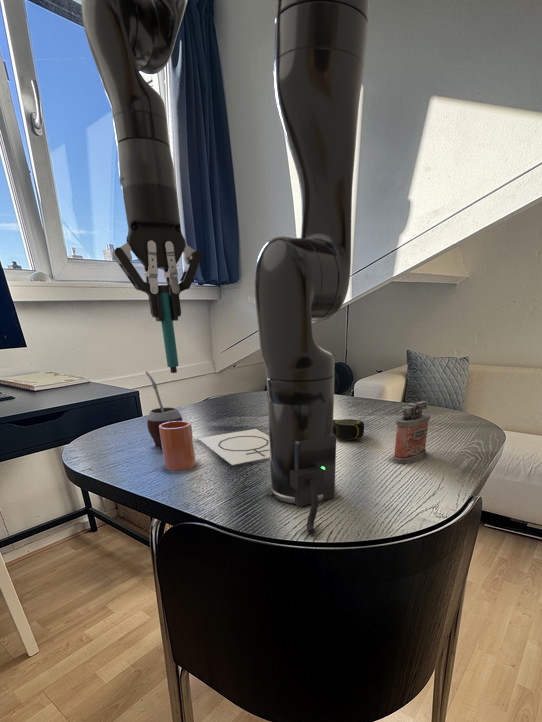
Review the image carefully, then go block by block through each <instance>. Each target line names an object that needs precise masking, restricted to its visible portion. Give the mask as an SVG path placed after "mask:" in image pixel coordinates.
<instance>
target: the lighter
mask: <svg viewBox="0 0 542 722" xmlns="http://www.w3.org/2000/svg"><path fill="white" fill-rule="evenodd" d="M427 409H428V402H427V401H425V400H421V401H418V402H415V403H414V402H408V403H407V405H406V406H403V407H402V416H401V417H399V418H396V420H395V425H396V431H395V432H396V433H395V444H394V454H393V455H392V462H394V463H395V464H407V463H408V464H409V463H413V462H415V461H417V460H420V459H422V458H424V457H425V456H426V454H427V450H426V445H427V438H428V429H429V421H430V420H431V414H429V413H424V412H423V410H427Z"/></svg>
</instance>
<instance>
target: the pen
mask: <svg viewBox="0 0 542 722" xmlns="http://www.w3.org/2000/svg"><path fill="white" fill-rule="evenodd" d="M158 295H160V298H161V306H162V313H163V321H160V323H161V329H162V330H161V331H162V336H163V343H164V351H165V358H166V365H167V366H166V367H167V368H170V369H169V370H170V373H171V374H177V373H178V369H177V367H179V366H180V364H179V358H178V357H179V356H178V351H177V350H178V349H177V343H176V334H175V327H174V321H173V318H172V310H171V303H170V295H169V285H167V284H158Z"/></svg>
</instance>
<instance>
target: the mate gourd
mask: <svg viewBox="0 0 542 722" xmlns="http://www.w3.org/2000/svg"><path fill="white" fill-rule="evenodd" d="M145 374H146V376H147V377H148V379H149V380H150V382H151V383H152V384H151V386H152V388H153V390H154V393H155V395H156V400H157V402H158V405H159V407H158V408H157V407H156V408H154V409H152V410H150V411H149V412H148V415H147V418H146V419H147V430H148V433H149V435H150V437H151V439H152V440H153V443H154V447H155V448H162V444H161V437H160V431H159V425H160V424H163V423H166V422H171V421H184V420H183V417H182V414H181V413H180V411H179V410H178V408H176V407H164V405H163V404H162V400H161V395H159V391H158V385H157V383H156V382H155V380H154V379H153V377H152V376H151V374H150V373H149V372H148V371H145ZM160 451H161V452H163V450H162V449H161V450H160Z"/></svg>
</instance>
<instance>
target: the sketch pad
mask: <svg viewBox="0 0 542 722" xmlns="http://www.w3.org/2000/svg"><path fill="white" fill-rule="evenodd" d="M197 439H198V440H199V441H200V442H202V443H203V444H204V445H205V446H207V447H208V448H209V449H211V450H212V451H213V452H214V453H216V454H217V456H219V457H220V458H222V459H223V460H224V461H226V462H227V463H228V464H230V465H231V466H235V465H240V464H245V463H250V462H255V461H261V460H264V459H270V447H269V434H266V433H265V432H263V431H262V430H259V429H257V428H252V429H247V430H241V431H234V432H228V433H222V434H217V435H216V434H215V435H211V436H205V437H199V438H197Z"/></svg>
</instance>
